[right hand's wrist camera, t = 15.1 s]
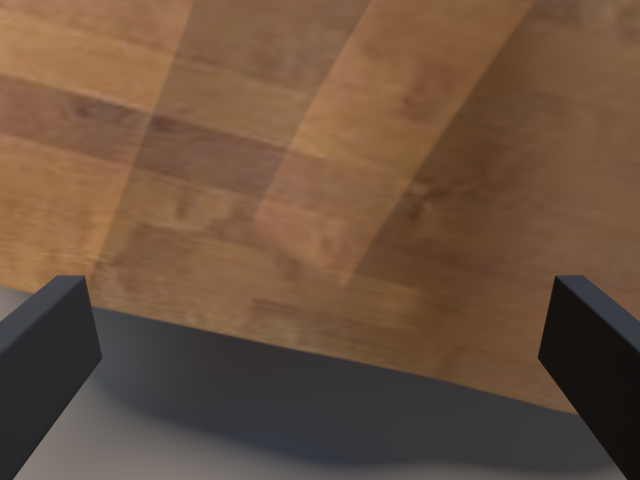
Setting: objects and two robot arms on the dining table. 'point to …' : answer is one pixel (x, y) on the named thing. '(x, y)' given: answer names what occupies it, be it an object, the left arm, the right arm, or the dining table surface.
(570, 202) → the dining table surface
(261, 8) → the dining table surface
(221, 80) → the dining table surface
